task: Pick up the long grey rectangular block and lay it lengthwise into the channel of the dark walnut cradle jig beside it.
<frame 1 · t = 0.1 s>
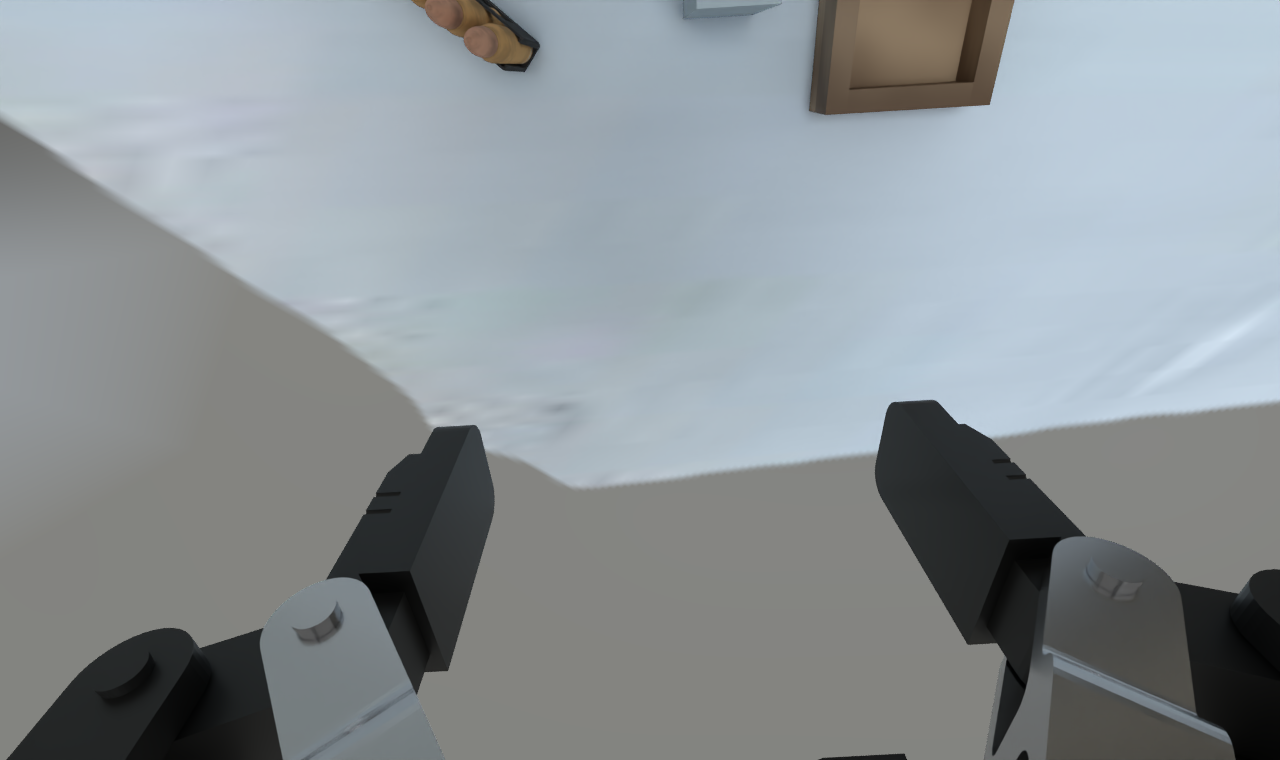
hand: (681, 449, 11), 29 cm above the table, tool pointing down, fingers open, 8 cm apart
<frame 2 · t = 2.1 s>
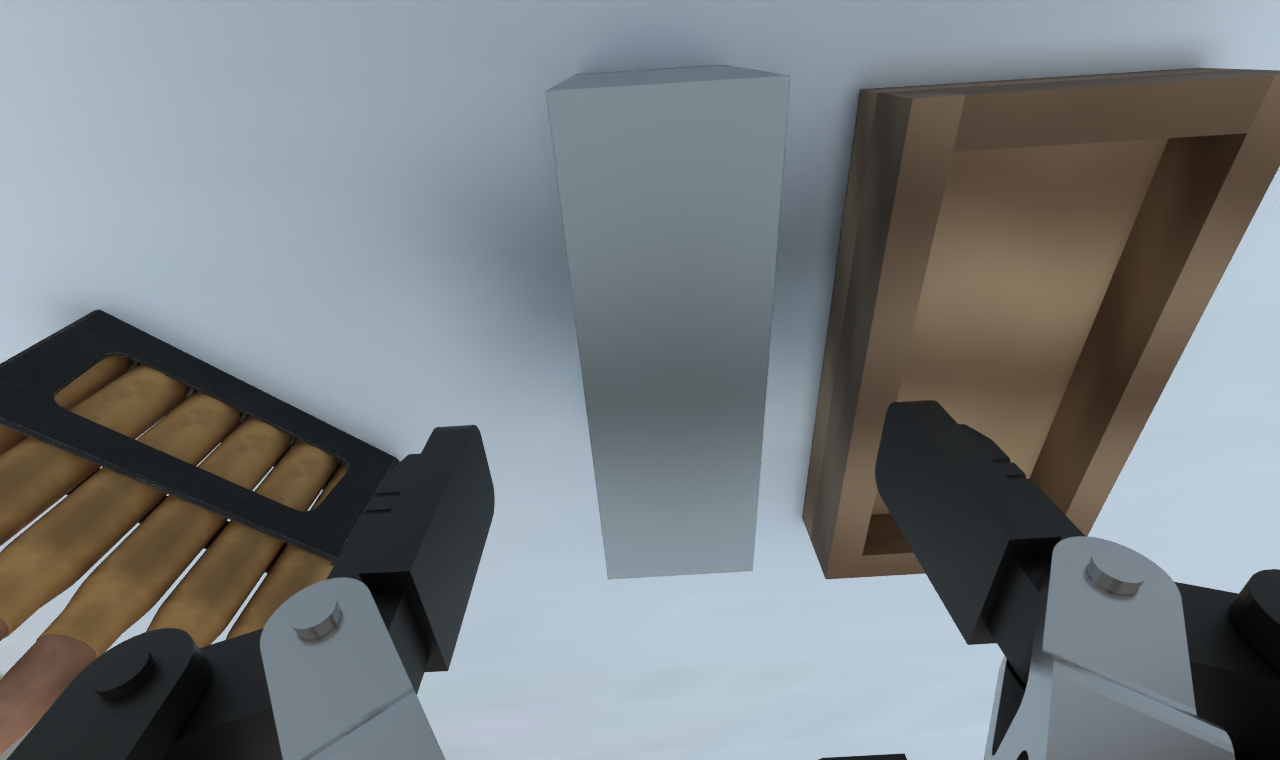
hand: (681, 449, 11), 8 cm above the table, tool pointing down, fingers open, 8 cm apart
ammunition clip: (257, 405, 20), on the table
cradle jig: (957, 342, 19), on the table
long grey rectangular block: (658, 278, 18), on the table
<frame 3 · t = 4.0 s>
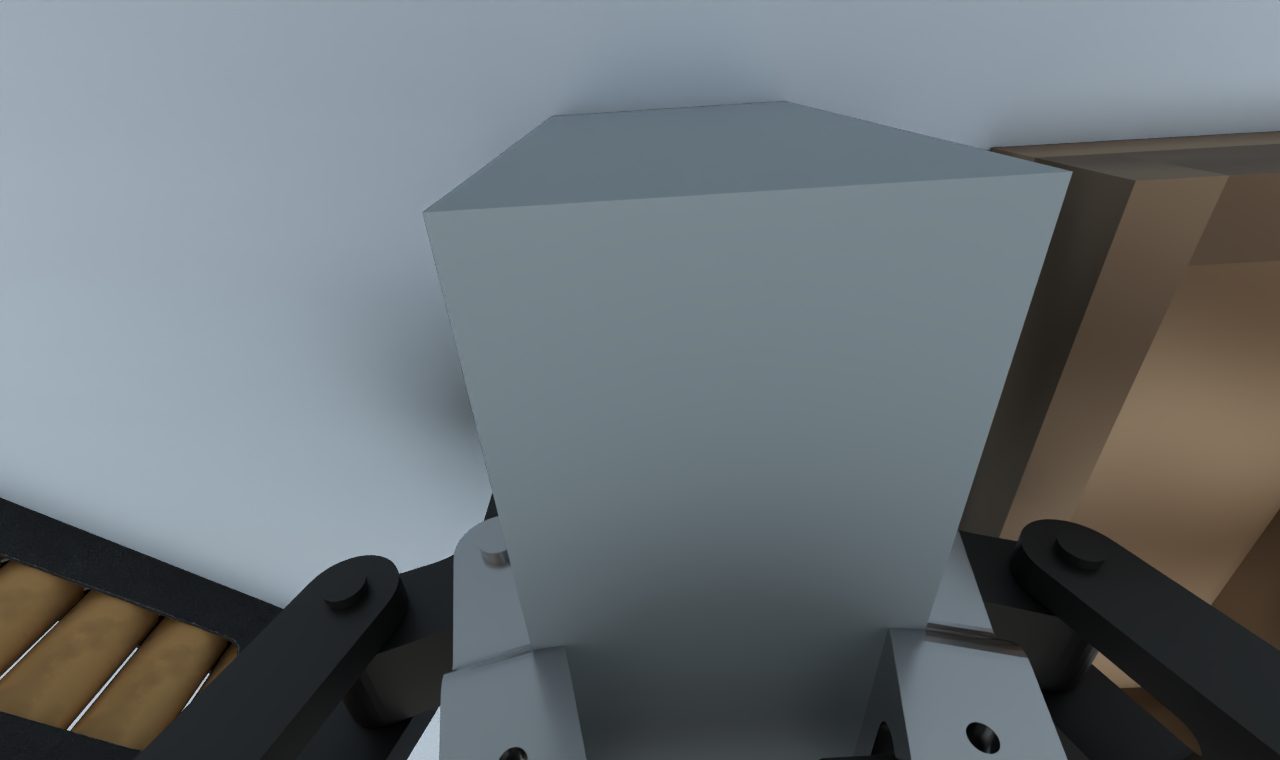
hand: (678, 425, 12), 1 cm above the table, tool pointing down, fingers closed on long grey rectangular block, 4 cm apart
ammunition clip: (119, 559, 15), on the table
cradle jig: (1090, 485, 14), on the table
long grey rectangular block: (676, 402, 12), on the table, touching gripper
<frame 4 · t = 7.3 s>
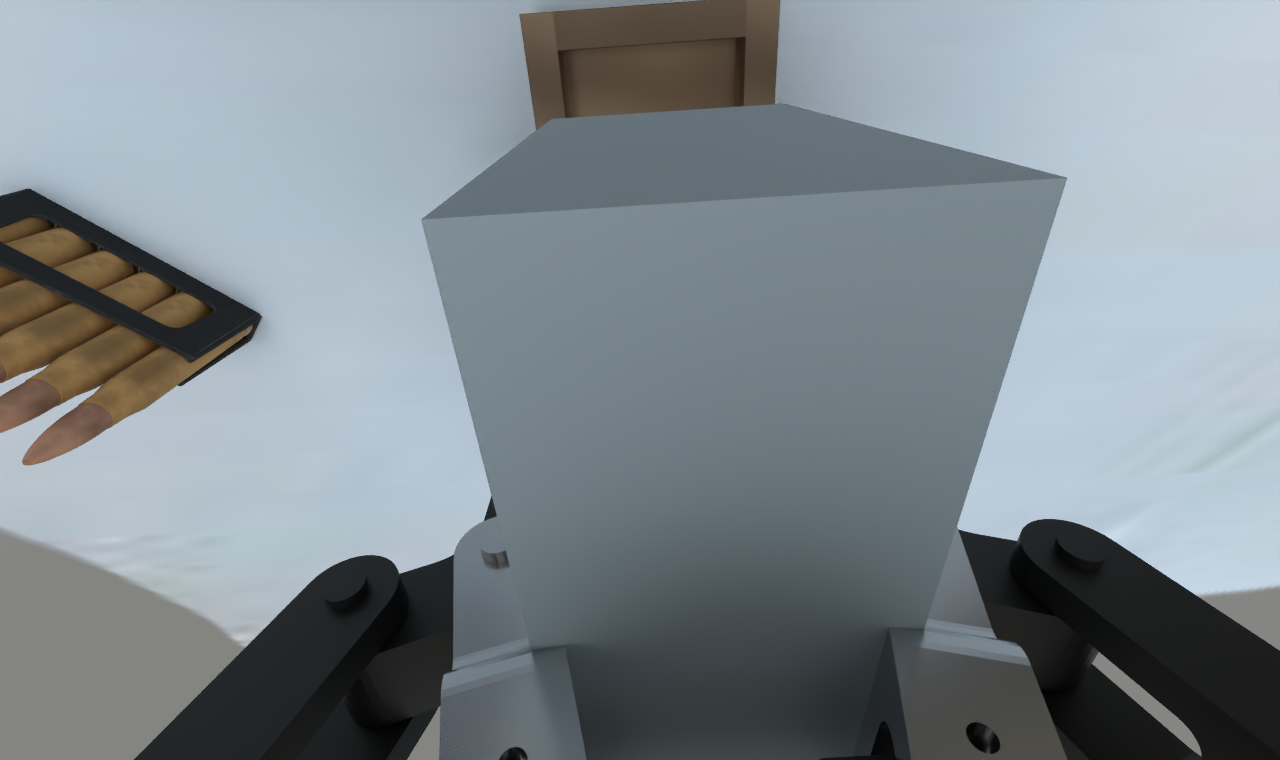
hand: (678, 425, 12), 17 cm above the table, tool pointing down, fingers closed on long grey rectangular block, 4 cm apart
ammunition clip: (150, 268, 28), on the table
cradle jig: (656, 213, 27), on the table
long grey rectangular block: (675, 404, 12), point 17 cm above the table, touching gripper
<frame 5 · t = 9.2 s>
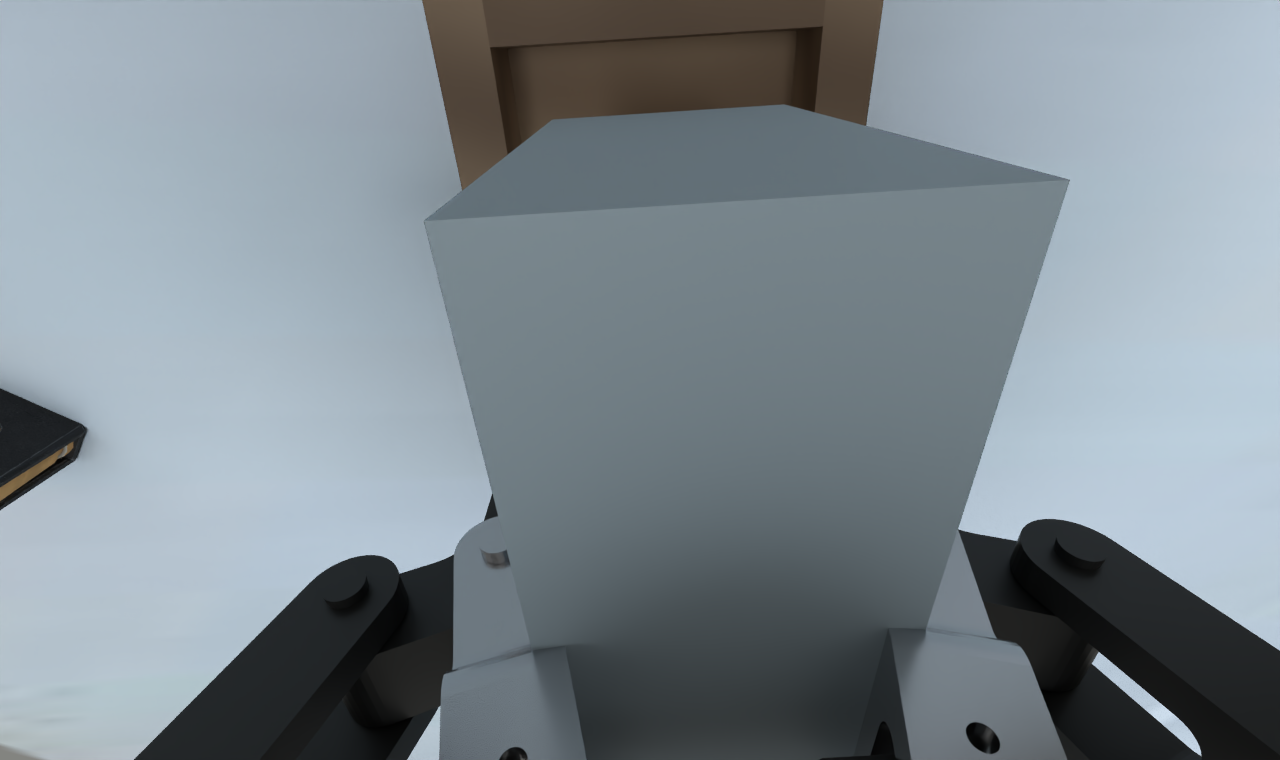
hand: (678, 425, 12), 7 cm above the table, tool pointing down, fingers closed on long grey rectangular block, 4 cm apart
cradle jig: (659, 293, 18), on the table
long grey rectangular block: (676, 404, 12), point 6 cm above the table, touching gripper
when the fingers open (4 cm above the table, at t = 10.7 s): long grey rectangular block drops 2 cm, resting on cradle jig.
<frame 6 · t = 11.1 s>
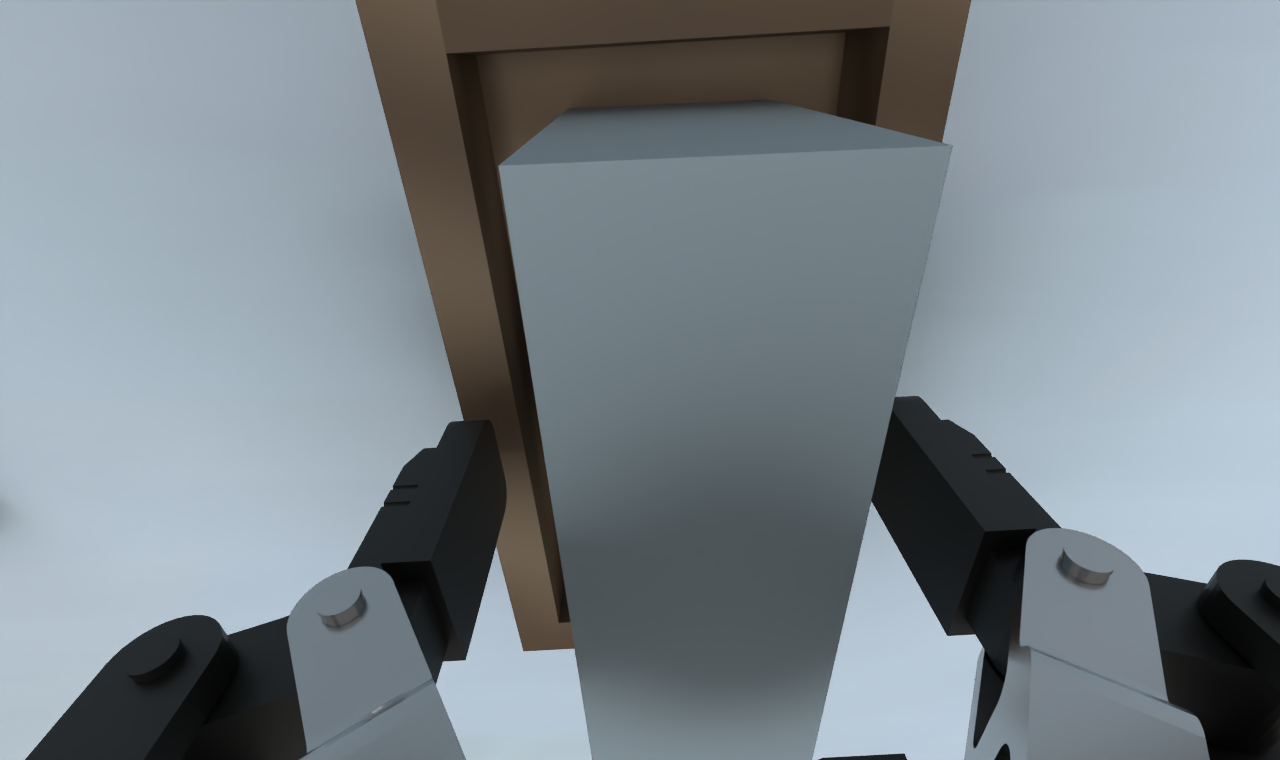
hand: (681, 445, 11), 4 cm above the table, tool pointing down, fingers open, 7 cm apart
cradle jig: (666, 346, 15), on the table
long grey rectangular block: (672, 368, 14), point 1 cm above the table, touching cradle jig
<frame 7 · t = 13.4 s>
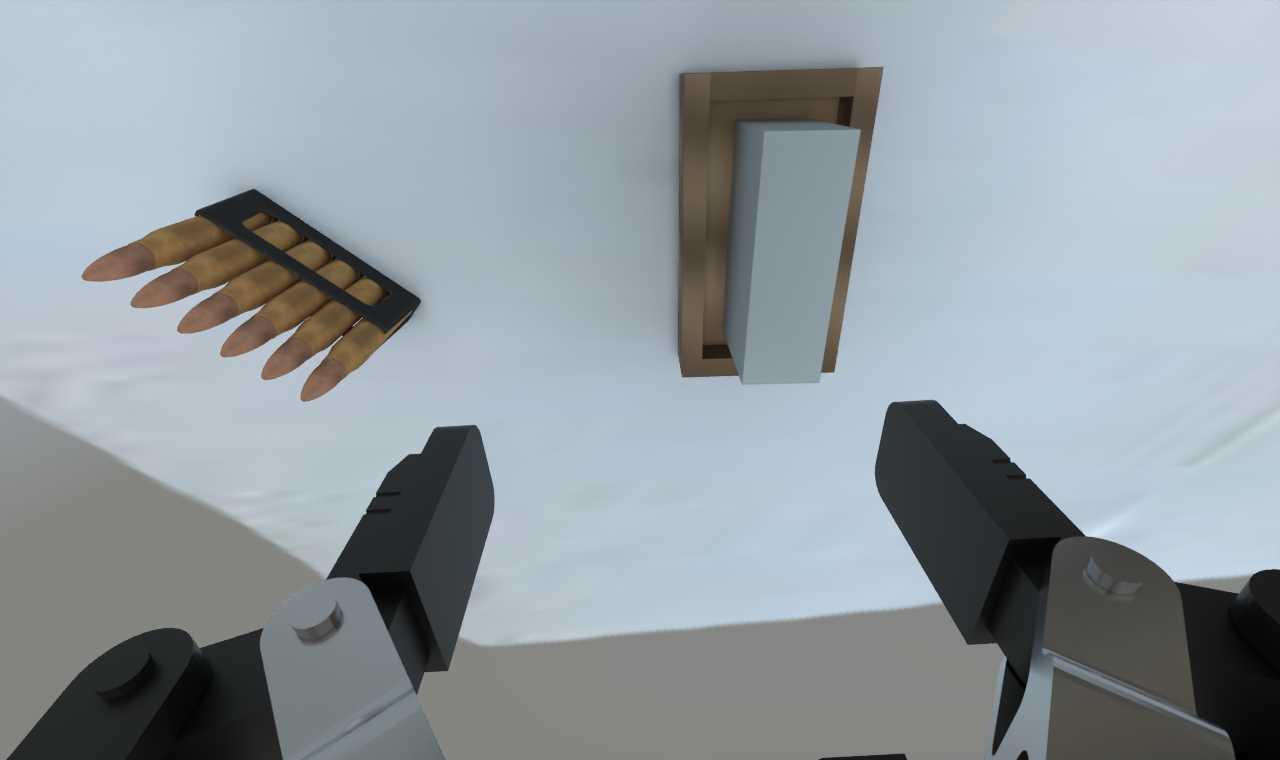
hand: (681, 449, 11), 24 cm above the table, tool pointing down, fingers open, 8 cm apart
ammunition clip: (336, 257, 33), on the table
cradle jig: (757, 228, 33), on the table
long grey rectangular block: (762, 233, 32), point 1 cm above the table, touching cradle jig
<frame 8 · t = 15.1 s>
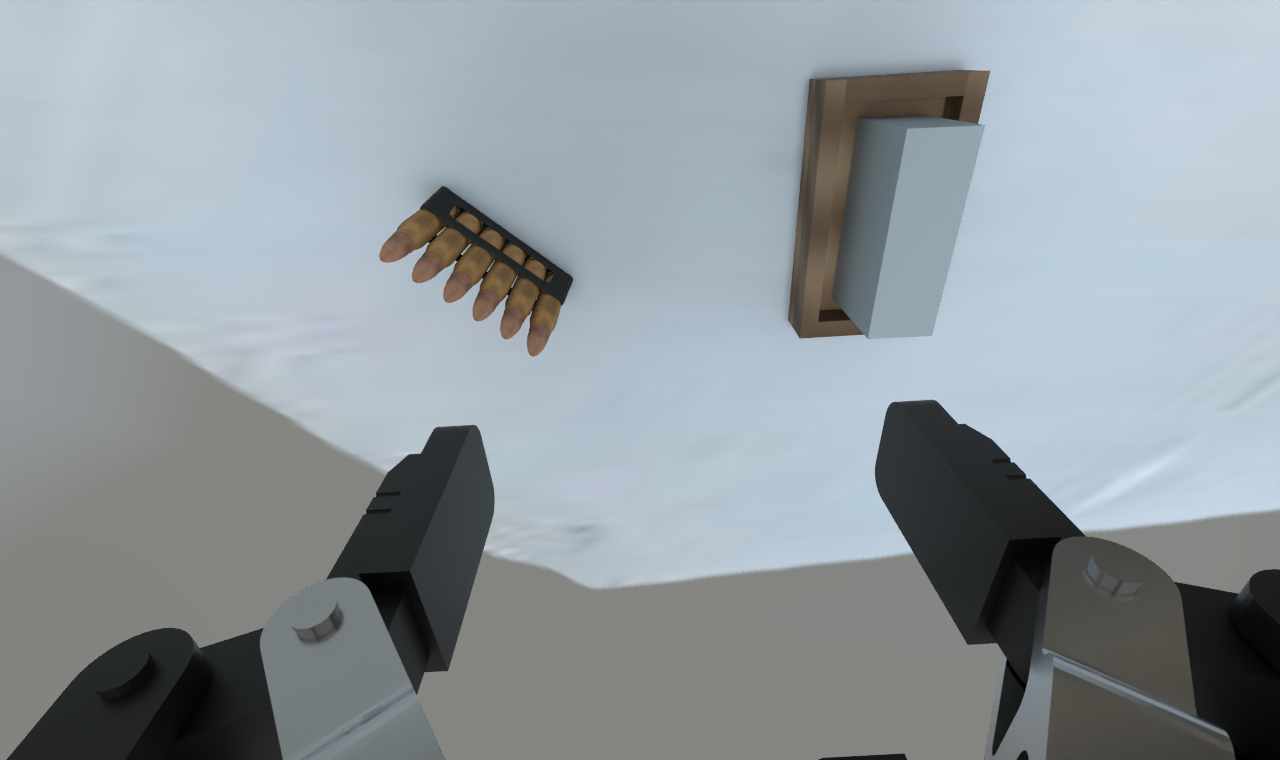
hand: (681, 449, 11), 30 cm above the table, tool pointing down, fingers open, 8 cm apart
ammunition clip: (505, 243, 39), on the table
cradle jig: (865, 208, 38), on the table
long grey rectangular block: (872, 213, 37), point 1 cm above the table, touching cradle jig
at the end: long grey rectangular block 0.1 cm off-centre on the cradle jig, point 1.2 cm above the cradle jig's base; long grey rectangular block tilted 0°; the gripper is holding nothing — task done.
